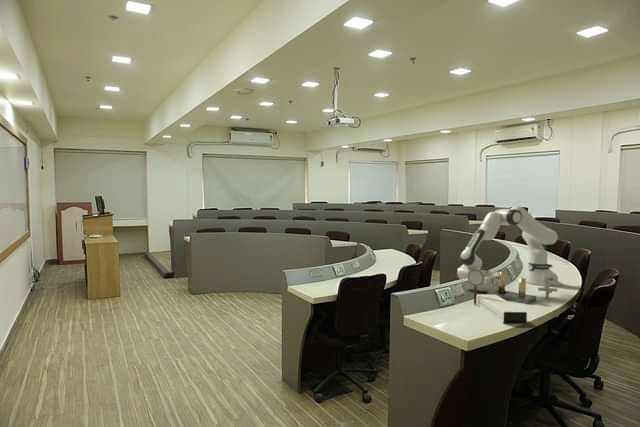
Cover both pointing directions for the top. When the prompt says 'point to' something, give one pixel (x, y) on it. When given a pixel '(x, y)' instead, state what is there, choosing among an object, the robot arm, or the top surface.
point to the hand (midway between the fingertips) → (503, 280)
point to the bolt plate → (516, 294)
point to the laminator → (501, 309)
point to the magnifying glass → (475, 280)
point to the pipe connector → (547, 289)
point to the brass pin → (502, 284)
